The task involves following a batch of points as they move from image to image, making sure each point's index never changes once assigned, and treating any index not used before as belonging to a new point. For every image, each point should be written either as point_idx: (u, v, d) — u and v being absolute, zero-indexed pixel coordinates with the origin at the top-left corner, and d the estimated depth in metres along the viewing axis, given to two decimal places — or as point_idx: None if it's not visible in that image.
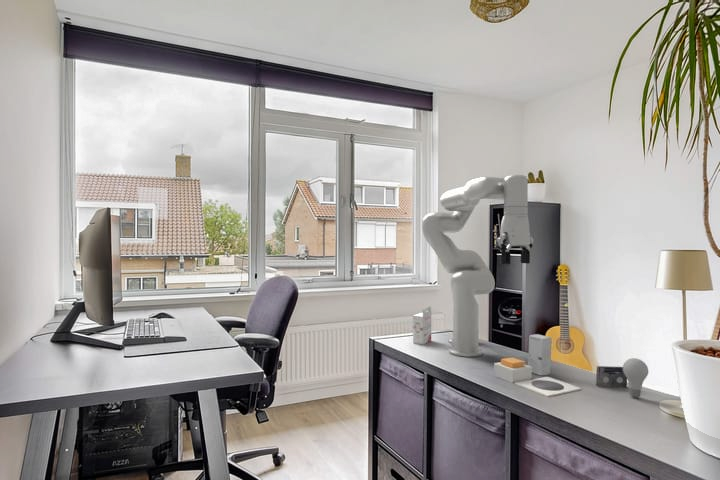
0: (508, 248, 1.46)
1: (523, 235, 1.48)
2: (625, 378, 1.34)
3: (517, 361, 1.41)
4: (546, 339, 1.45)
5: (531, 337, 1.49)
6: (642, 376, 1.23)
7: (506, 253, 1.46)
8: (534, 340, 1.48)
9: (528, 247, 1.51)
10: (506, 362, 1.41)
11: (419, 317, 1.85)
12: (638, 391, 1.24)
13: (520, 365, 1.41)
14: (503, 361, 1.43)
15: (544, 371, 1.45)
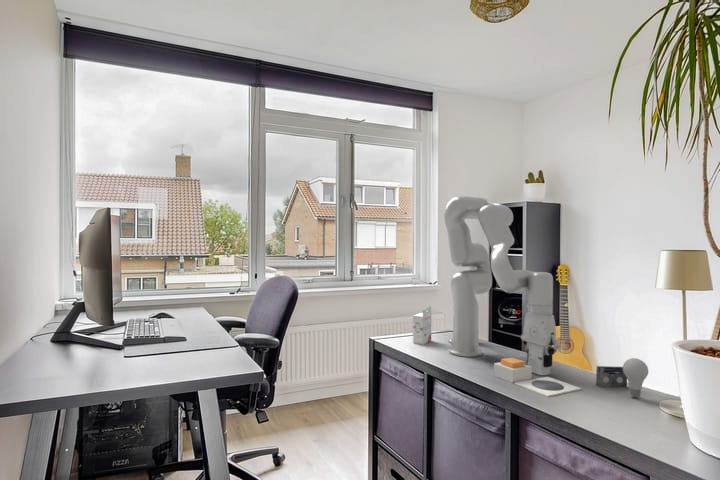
0: None
1: None
2: (625, 378, 1.34)
3: (517, 361, 1.41)
4: None
5: None
6: (642, 376, 1.23)
7: None
8: None
9: None
10: (506, 362, 1.41)
11: (419, 317, 1.85)
12: (638, 391, 1.24)
13: (520, 365, 1.41)
14: (503, 361, 1.43)
15: (544, 371, 1.45)
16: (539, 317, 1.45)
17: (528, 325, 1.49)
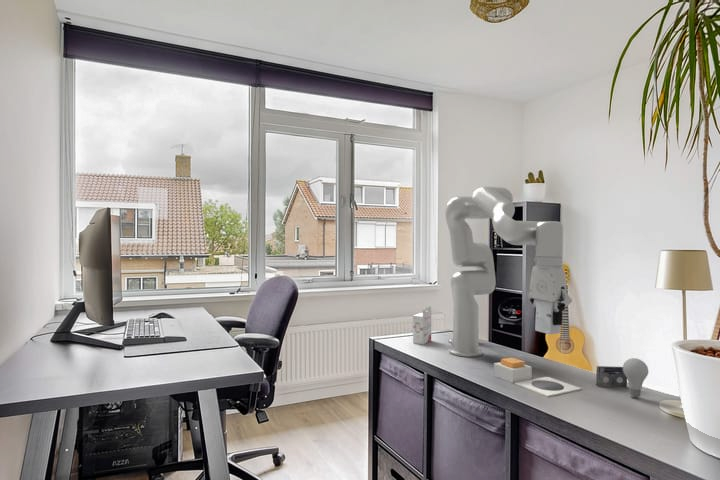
0: None
1: None
2: (625, 378, 1.34)
3: (517, 361, 1.41)
4: None
5: None
6: (642, 376, 1.23)
7: None
8: None
9: None
10: (506, 362, 1.41)
11: (419, 317, 1.85)
12: (638, 391, 1.24)
13: (520, 365, 1.41)
14: (503, 361, 1.43)
15: (554, 330, 1.31)
16: (548, 270, 1.31)
17: (535, 280, 1.35)
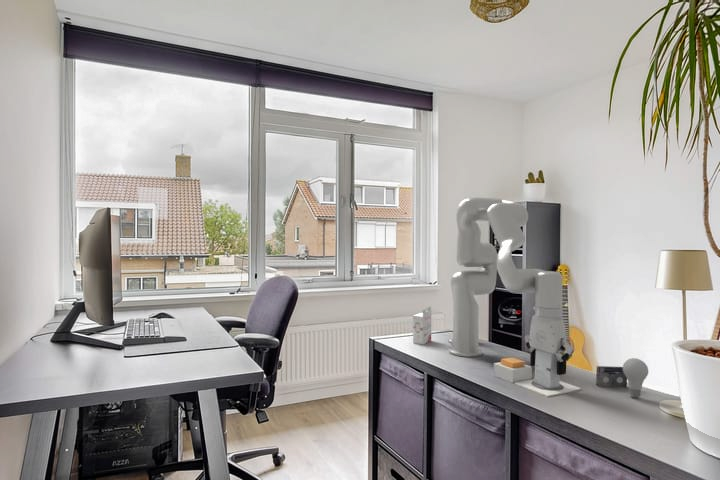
0: None
1: None
2: (625, 378, 1.34)
3: (517, 361, 1.41)
4: None
5: None
6: (642, 376, 1.23)
7: None
8: None
9: None
10: (506, 362, 1.41)
11: (419, 317, 1.85)
12: (638, 391, 1.24)
13: (520, 365, 1.41)
14: (503, 361, 1.43)
15: (553, 384, 1.31)
16: (547, 321, 1.31)
17: (535, 329, 1.35)
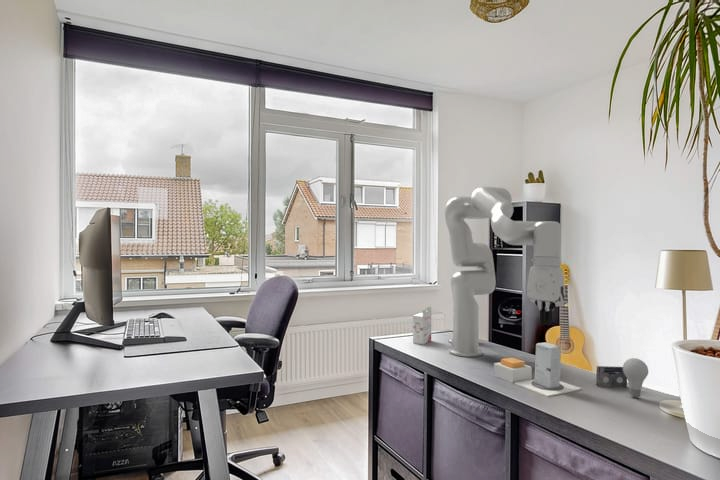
0: None
1: None
2: (625, 378, 1.34)
3: (517, 361, 1.41)
4: (555, 348, 1.31)
5: (538, 346, 1.35)
6: (642, 377, 1.23)
7: None
8: (541, 349, 1.34)
9: None
10: (506, 362, 1.41)
11: (419, 317, 1.85)
12: (638, 391, 1.24)
13: (520, 365, 1.41)
14: (503, 361, 1.43)
15: (553, 384, 1.31)
16: (547, 270, 1.31)
17: (534, 280, 1.35)
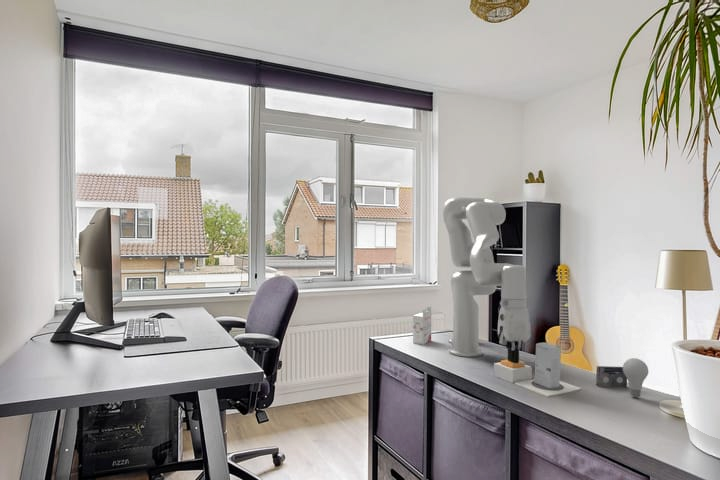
0: None
1: None
2: (625, 378, 1.34)
3: None
4: (555, 348, 1.31)
5: (538, 346, 1.35)
6: (642, 376, 1.23)
7: None
8: (541, 349, 1.34)
9: None
10: (506, 363, 1.41)
11: (419, 317, 1.85)
12: (638, 391, 1.24)
13: (520, 366, 1.41)
14: (503, 362, 1.43)
15: (553, 384, 1.31)
16: (524, 311, 1.41)
17: (514, 322, 1.39)
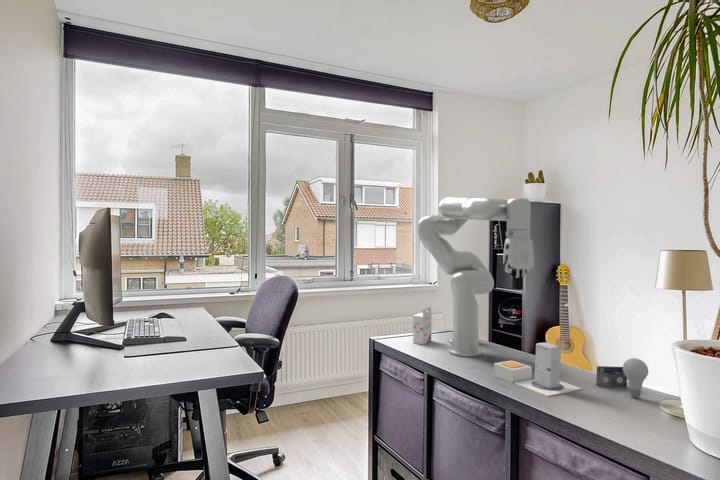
0: None
1: None
2: (625, 378, 1.34)
3: (517, 365, 1.41)
4: (555, 348, 1.31)
5: (538, 346, 1.35)
6: (642, 376, 1.23)
7: None
8: (541, 349, 1.34)
9: None
10: None
11: (419, 317, 1.85)
12: (638, 391, 1.24)
13: None
14: None
15: (553, 384, 1.31)
16: (528, 241, 1.50)
17: (519, 251, 1.48)
